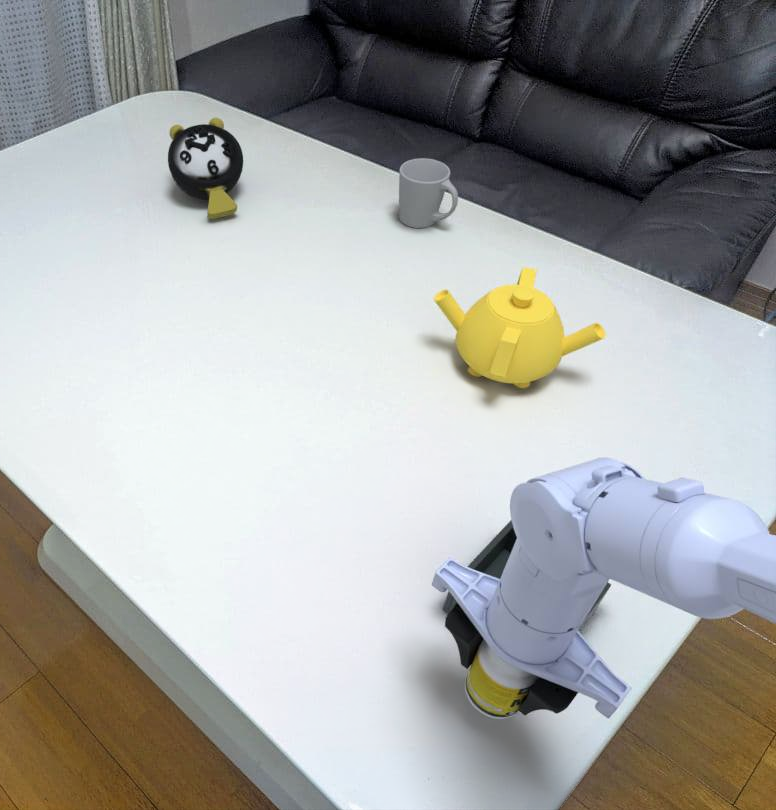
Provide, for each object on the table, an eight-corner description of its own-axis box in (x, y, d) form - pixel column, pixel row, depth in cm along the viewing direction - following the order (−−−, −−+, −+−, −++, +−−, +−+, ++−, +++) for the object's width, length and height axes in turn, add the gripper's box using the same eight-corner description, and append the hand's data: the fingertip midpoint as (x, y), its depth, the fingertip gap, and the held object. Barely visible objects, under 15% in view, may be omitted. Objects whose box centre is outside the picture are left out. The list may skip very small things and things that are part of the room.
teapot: (407, 387, 91) (420, 317, 83) (441, 304, 102) (455, 235, 94) (577, 432, 85) (608, 361, 77) (593, 338, 96) (622, 268, 88)
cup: (411, 201, 121) (418, 153, 115) (463, 223, 116) (474, 173, 110) (383, 220, 118) (389, 171, 112) (436, 243, 113) (445, 193, 107)
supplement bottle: (509, 732, 58) (536, 687, 52) (454, 697, 60) (473, 650, 54) (532, 684, 61) (560, 637, 55) (478, 653, 63) (500, 603, 57)
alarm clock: (175, 234, 124) (134, 149, 117) (219, 196, 133) (183, 115, 126) (228, 222, 117) (188, 131, 109) (271, 183, 126) (236, 96, 118)
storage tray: (595, 609, 70) (611, 584, 66) (538, 683, 65) (552, 660, 62) (501, 545, 75) (511, 518, 72) (442, 609, 70) (450, 584, 67)
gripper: (677, 626, 48) (609, 710, 57) (483, 499, 55) (452, 592, 65) (625, 702, 44) (562, 778, 54) (427, 556, 52) (403, 646, 62)
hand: (499, 681), depth 59 cm, fingers closed on supplement bottle, 5 cm apart
